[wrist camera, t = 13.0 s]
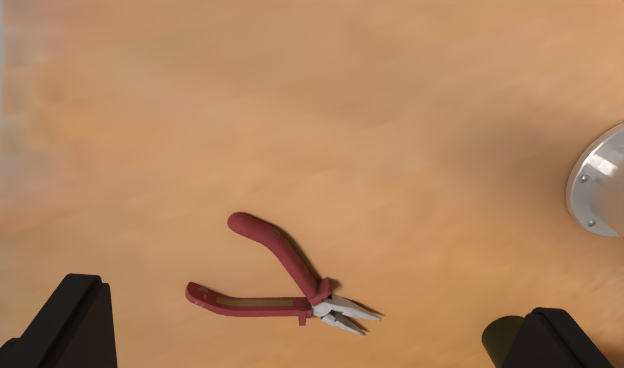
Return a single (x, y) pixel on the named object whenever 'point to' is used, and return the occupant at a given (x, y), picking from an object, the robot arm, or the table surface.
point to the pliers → (283, 306)
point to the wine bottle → (501, 338)
